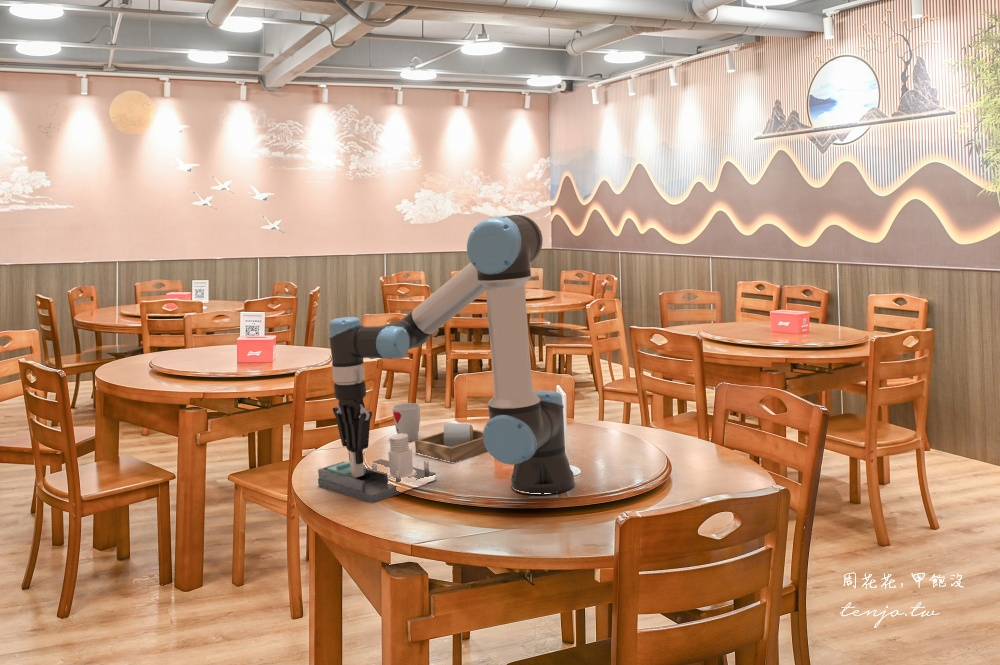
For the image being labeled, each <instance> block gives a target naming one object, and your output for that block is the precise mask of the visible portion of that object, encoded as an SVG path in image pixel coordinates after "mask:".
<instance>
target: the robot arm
mask: <svg viewBox="0 0 1000 665" xmlns="http://www.w3.org/2000/svg"><path fill="white" fill-rule="evenodd" d="M543 239H544V238H543V235H542V230H541V229H540V227H539V226H538V223H536V222H535V221H534V220H533V219H531V218H530V217H528V216H525V215H522V214H513V215H512V214H511V215H505V216H504V215H503V216H498V215H497V216H494V217H489V218H487V219H485V220H482V221H480V222H479V223H477V224H476V226H474V228H473V229H472V230H471V231H470V233H469V236H468V238H467V241H466V242H467V243H466V253H467V257H468V260H469V263H468V264H467V265H465V266H464V267H463V268H461V270H459V272H457V273H456V274H455V275H453V276H452V277H451V278H450V279H449V280H448V281H446V282H445V283H444V284H442V286H441V285H440V287H439V288H437V289H436V290H435V291H434V292H433V293H432V294H431V295H429V296H428V297H427V298H426V299H424V300H423V301H422V302H421V303H419V305H417V306H416V307H415V308H414V309H412V310H411V311H410V312H409V313H407V315H405V316H404V317H403V318H401V319H400V320H396V321H393V322H390V323H386V324H383V325H378V326H376V325H375V326H363V325H362V323H361V320H360V318H359V317H354V316H343V317H338V318H334V319H332V320H330V321H329V324H328V332H329V334H328V335H329V337H328V340H329V345H330V353H331V354H330V355H331V369H332V380H333V382H334V385H333V390H334V392H333V393H334V398H335V399H336V400H338V405H337V406H335V407H333V408H332V412H333V414H334V416H335V421H336V424H337V427H338V432H339V437H340V441H341V445H342V447H344V448H346V449H347V451H348V459H349V462H350V466H351V477H354V478H356V477H359V476H362V475H364V469H363V465H364V453H363V452H364V450H365V449H368V448H369V442H370V428H371V426H370V424H371V419H372V416H373V412H372V411H367V409H366V406H365V402H364V398H365V397H366V396H367V388H366V381H365V380H364V379H365V368H364V359H366V358H367V359H387V360H392V359H401V358H403V357H405V356H406V354H407V352H408V351H410V350H412V349H414V348H418V347H421V346H422V345H423V344H425V343H426V342H428V340H429V339H430V336H431V335H433V333H435V332H436V331H437V330H439V328H441V327H442V326H444V325H445V324H446V323H447V322H448V321H450V320H451V319H453V318H454V317H455V316H456V315H458V314H459V313H460V312H461V311H463V310H464V309H465V308H466V307H468V306H469V305H470V304H471V303H473V302H474V301H475V300H477V299H478V298H479V297H480V296H481V295H483V294H484V293H485V297H486V298H485V299H486V310H487V324H488V333H489V346H490V347H489V348H490V358H491V371H492V372H491V373H492V381H493V396H492V397H491V399H489V401H488V407H487V408H488V417H489V420H488V421H487V422H486V423H485V426H484V429H483V430H482V431H483V441H484V445H485V447H486V449H487V452H488V453H489V455H491V456H492V457H493V458H494V460H496V461H498V462H500V463H502V464H504V465H509V466H510V465H513V471H512V474H511V476H510V483H511V486H512V487H513V488H514V489H516V490H519V491H524V492H529V493H541V494H544V493H556V492H561V493H563V492H562V491H564V492H566V490H567V491H569V490H571V489H572V488H573V487H574V486H575V475H574V471H573V470H572V468H571V466H570V462H569V459H568V457H567V453H566V441H565V440H566V439H565V436H566V435H565V420H564V419H565V418H564V416H565V415H564V407H565V406H564V404H563V397H562V394H561V393H559V392H558V391H553V390H533V380H532V378H533V376H532V367H531V366H532V365H531V364H532V363H531V354H530V353H531V351H530V339H529V337H530V336H529V325H528V312H527V301H526V299H527V298H526V288H525V287H526V284H527V282H528V281H529V280H530V279H531V278H532V274H531V273H532V272H531V263H532V262H534V261H535V260H536V259H537V258H538V256H539V255H540V253H541V251H542V247H543V243H544V242H543ZM511 486H510V487H511ZM512 487H511V488H512Z"/></svg>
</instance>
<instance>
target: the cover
mask: <svg viewBox="0 0 1000 665" xmlns="http://www.w3.org/2000/svg"><path fill="white" fill-rule="evenodd" d="M344 462H345V463H342V464H339V465H336V466H332V467H329V468H327V471H331V472H334V473H338V474H341V475H345V476H348V477H351V466H350V461H349V462H346V461H344ZM363 469H364V474H365V473H366V467H363ZM352 478H353V477H352Z"/></svg>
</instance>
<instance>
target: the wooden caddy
mask: <svg viewBox="0 0 1000 665" xmlns="http://www.w3.org/2000/svg"><path fill="white" fill-rule="evenodd" d="M483 431H484V430H478V429H474V428H473V440H472V441H469V442H466V443H463V444H460V445H457V446H454V447H449V446H444V431H442V432H441V431H440V432H439V433H434V434H432V435H428V436H426V437H422V438H417V439H416V440H414V443H415V444H414V446H415V454H416V453H420V454H423V455H427V456H431V457H434V458H438V459H442V460H446V461H450V462H455V463H457V462H456V461H458V462H460V461H459V460H461V461H463V460H466V459H468V458H472V457H475V456H477V455H481V454H483V453H486V452H488V451H487V449H486V447H485V445H484V441H483Z"/></svg>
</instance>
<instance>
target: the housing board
mask: <svg viewBox="0 0 1000 665" xmlns="http://www.w3.org/2000/svg"><path fill="white" fill-rule="evenodd" d="M345 462H346V461H341V462H338V463H335V464H331V465H328V466H325V467H321V468H318V469H317V471H318V478H317V481H318V482H317V484H318V487H319V488H322V489H325V490H328V491H331V492H335V493H338V494H341V495H344V496H347V497H351V498H354V499H358V500H360V501H364V502H367V503H371V504H375V503H378V502H380V501H383V500H386V499H389V498H392V497H394V496H397V495H399V494H401V493H399V491H397V490H396V487H397V486H393V485H390V484H387V482H388V475H387V473H384V472H380V471H377V465H376V464H372V469H369V468H366V473H365V474H364V475H362V476H359V477H356V478H354V477H353V478H352V477H348V476H345V475H341V474H338V473H334V472H331V471H327V468H329V467H332V466H336V465H339V464H342V463H345ZM372 462H373V463H377V464H381V465H384V466H385V467H389V460H386V459H377V460H373V461H372ZM429 462H430V461H429V460H424V461H423V468H424V469H421V468H417V467H414V466H413V469H414V470H415V471H416V473H415V474H414V475H413V476H410V477H408V478H411V477H415V478H417V479H420V478H424V477H429V476H433V475H436V476H437V473H436V472H434V471H430V463H429ZM363 467H365V465H364V464H363ZM395 478H396V482H400V481H401V477H400V470H396V471H395ZM417 479H416V480H417Z"/></svg>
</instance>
